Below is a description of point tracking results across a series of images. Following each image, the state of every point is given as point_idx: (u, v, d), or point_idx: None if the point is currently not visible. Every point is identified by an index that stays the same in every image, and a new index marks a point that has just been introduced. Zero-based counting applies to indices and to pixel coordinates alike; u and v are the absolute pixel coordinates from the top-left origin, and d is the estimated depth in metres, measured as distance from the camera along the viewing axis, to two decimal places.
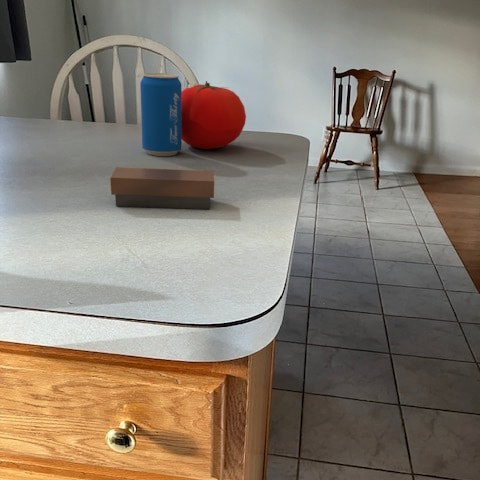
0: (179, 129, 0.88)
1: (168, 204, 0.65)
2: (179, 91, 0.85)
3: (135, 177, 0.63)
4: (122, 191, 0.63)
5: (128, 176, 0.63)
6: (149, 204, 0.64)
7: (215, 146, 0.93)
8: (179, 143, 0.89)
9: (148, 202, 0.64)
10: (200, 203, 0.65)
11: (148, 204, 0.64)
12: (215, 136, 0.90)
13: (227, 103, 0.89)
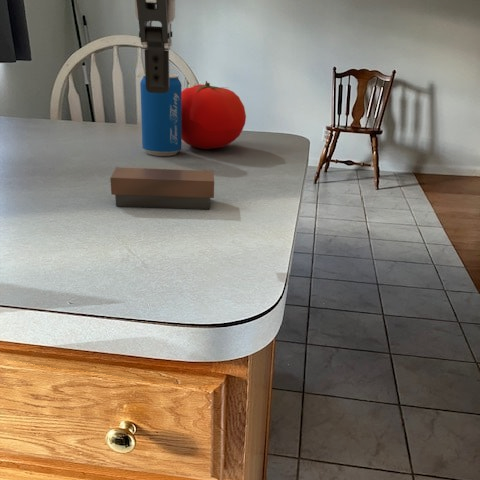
0: (179, 129, 0.88)
1: (168, 204, 0.65)
2: (179, 91, 0.85)
3: (135, 177, 0.63)
4: (122, 191, 0.63)
5: (128, 176, 0.63)
6: (149, 204, 0.64)
7: (215, 146, 0.93)
8: (179, 143, 0.89)
9: (148, 202, 0.64)
10: (200, 203, 0.65)
11: (148, 204, 0.64)
12: (215, 136, 0.90)
13: (227, 103, 0.89)
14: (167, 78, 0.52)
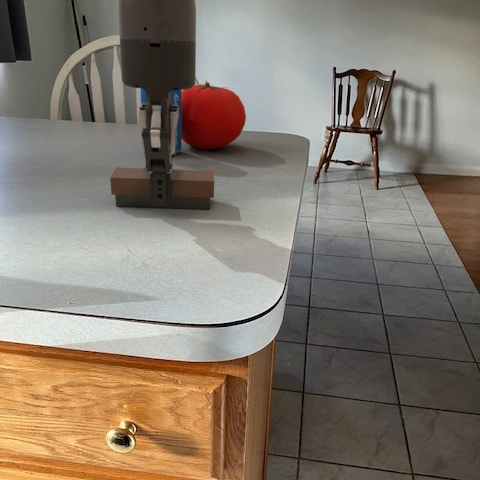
0: (179, 129, 0.88)
1: None
2: (179, 91, 0.85)
3: (135, 177, 0.63)
4: (122, 191, 0.63)
5: (128, 176, 0.63)
6: (149, 204, 0.64)
7: (215, 146, 0.93)
8: (179, 143, 0.89)
9: (148, 202, 0.64)
10: (200, 203, 0.65)
11: (148, 204, 0.64)
12: (215, 136, 0.90)
13: (227, 103, 0.89)
14: (169, 195, 0.61)
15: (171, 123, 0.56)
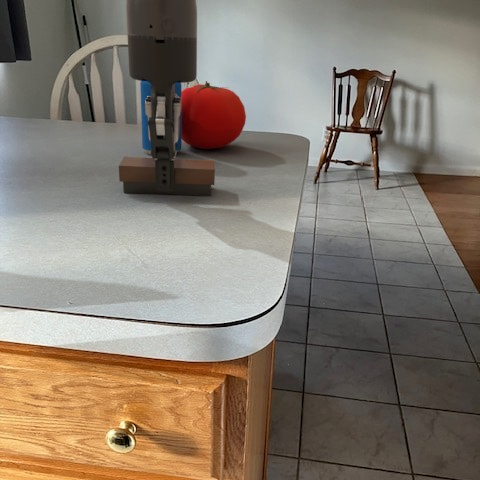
0: (179, 129, 0.88)
1: (172, 191, 0.70)
2: (179, 91, 0.85)
3: (141, 165, 0.68)
4: (129, 178, 0.68)
5: (135, 164, 0.68)
6: (154, 191, 0.69)
7: (215, 146, 0.93)
8: (179, 143, 0.89)
9: (154, 189, 0.69)
10: (201, 190, 0.70)
11: (153, 190, 0.69)
12: (215, 136, 0.90)
13: (227, 103, 0.89)
14: (173, 181, 0.66)
15: (174, 113, 0.61)
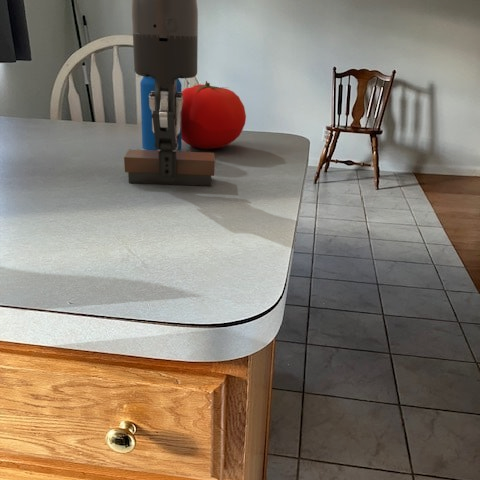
0: None
1: (174, 181, 0.74)
2: (179, 91, 0.85)
3: (145, 157, 0.72)
4: (134, 169, 0.72)
5: (139, 156, 0.72)
6: (157, 181, 0.74)
7: (215, 146, 0.93)
8: (179, 143, 0.89)
9: (157, 179, 0.73)
10: (202, 180, 0.74)
11: (157, 181, 0.74)
12: (215, 136, 0.90)
13: (227, 103, 0.89)
14: (175, 171, 0.70)
15: (177, 107, 0.65)
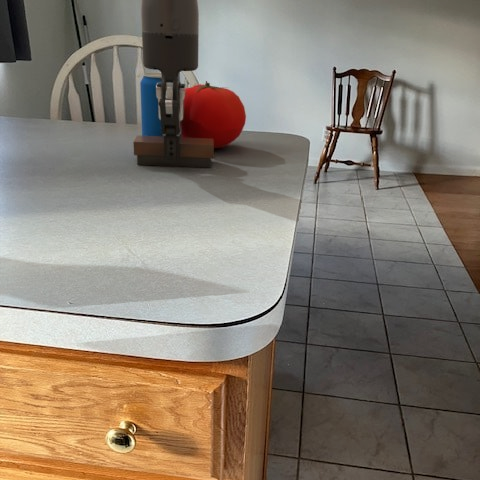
0: None
1: (178, 163, 0.83)
2: None
3: (152, 141, 0.81)
4: (142, 152, 0.82)
5: (147, 141, 0.82)
6: (163, 163, 0.83)
7: (215, 146, 0.93)
8: None
9: (162, 161, 0.83)
10: (203, 162, 0.83)
11: (162, 163, 0.83)
12: (215, 136, 0.90)
13: (227, 103, 0.89)
14: (178, 154, 0.79)
15: (180, 96, 0.75)
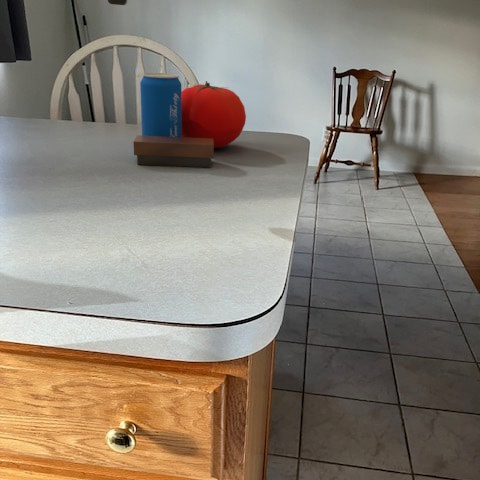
0: (179, 129, 0.88)
1: (178, 163, 0.83)
2: (179, 91, 0.85)
3: (152, 141, 0.81)
4: (142, 152, 0.82)
5: (147, 141, 0.82)
6: (163, 163, 0.83)
7: (215, 146, 0.93)
8: None
9: (162, 161, 0.83)
10: (202, 162, 0.83)
11: (162, 162, 0.83)
12: (215, 136, 0.90)
13: (227, 103, 0.89)
14: None
15: None
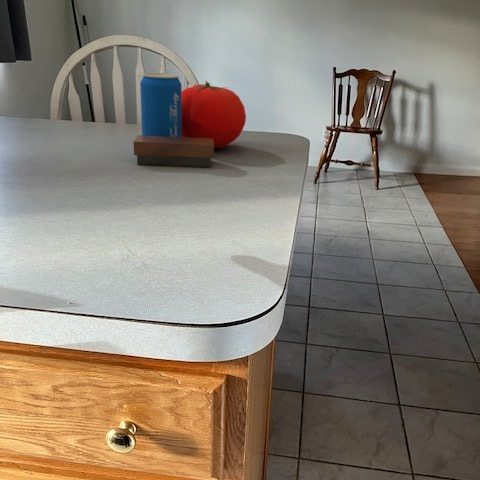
0: (179, 129, 0.88)
1: (178, 163, 0.83)
2: (179, 91, 0.85)
3: (152, 141, 0.81)
4: (142, 152, 0.82)
5: (147, 141, 0.82)
6: (163, 163, 0.83)
7: (215, 146, 0.93)
8: None
9: (162, 161, 0.83)
10: (202, 162, 0.83)
11: (162, 162, 0.83)
12: (215, 136, 0.90)
13: (227, 103, 0.89)
14: None
15: None
